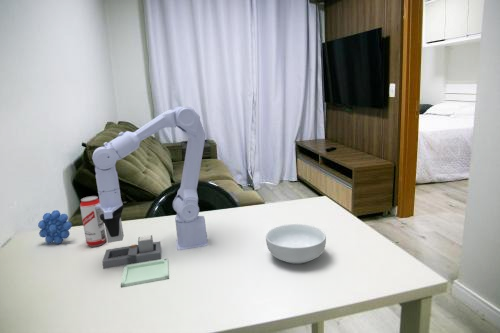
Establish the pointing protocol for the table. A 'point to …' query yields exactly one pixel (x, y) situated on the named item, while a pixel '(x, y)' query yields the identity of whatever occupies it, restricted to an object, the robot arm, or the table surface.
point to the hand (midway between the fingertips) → (115, 233)
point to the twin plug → (145, 244)
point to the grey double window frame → (130, 255)
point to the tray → (145, 272)
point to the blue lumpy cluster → (54, 227)
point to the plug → (117, 238)
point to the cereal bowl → (296, 242)
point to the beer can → (92, 221)
